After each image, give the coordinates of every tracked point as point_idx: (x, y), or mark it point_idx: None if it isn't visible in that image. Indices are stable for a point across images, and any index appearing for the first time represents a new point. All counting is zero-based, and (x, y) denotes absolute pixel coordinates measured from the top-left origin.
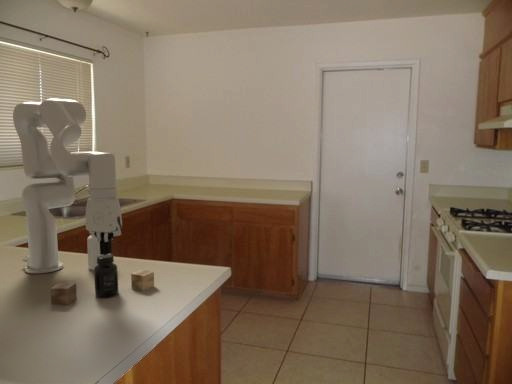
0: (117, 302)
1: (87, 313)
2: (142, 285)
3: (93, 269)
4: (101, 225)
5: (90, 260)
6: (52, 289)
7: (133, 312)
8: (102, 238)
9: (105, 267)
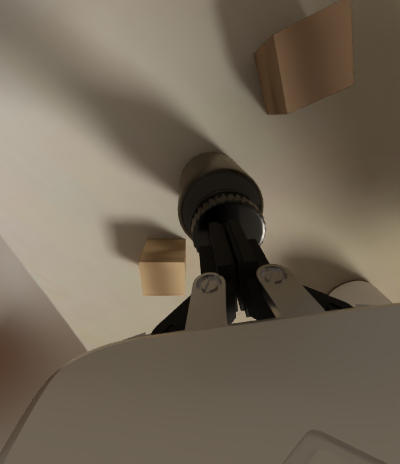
0: (138, 150)
1: (141, 25)
2: (147, 246)
3: (353, 282)
4: (236, 452)
5: (378, 297)
6: (338, 2)
7: (36, 112)
8: (257, 296)
9: (197, 193)
